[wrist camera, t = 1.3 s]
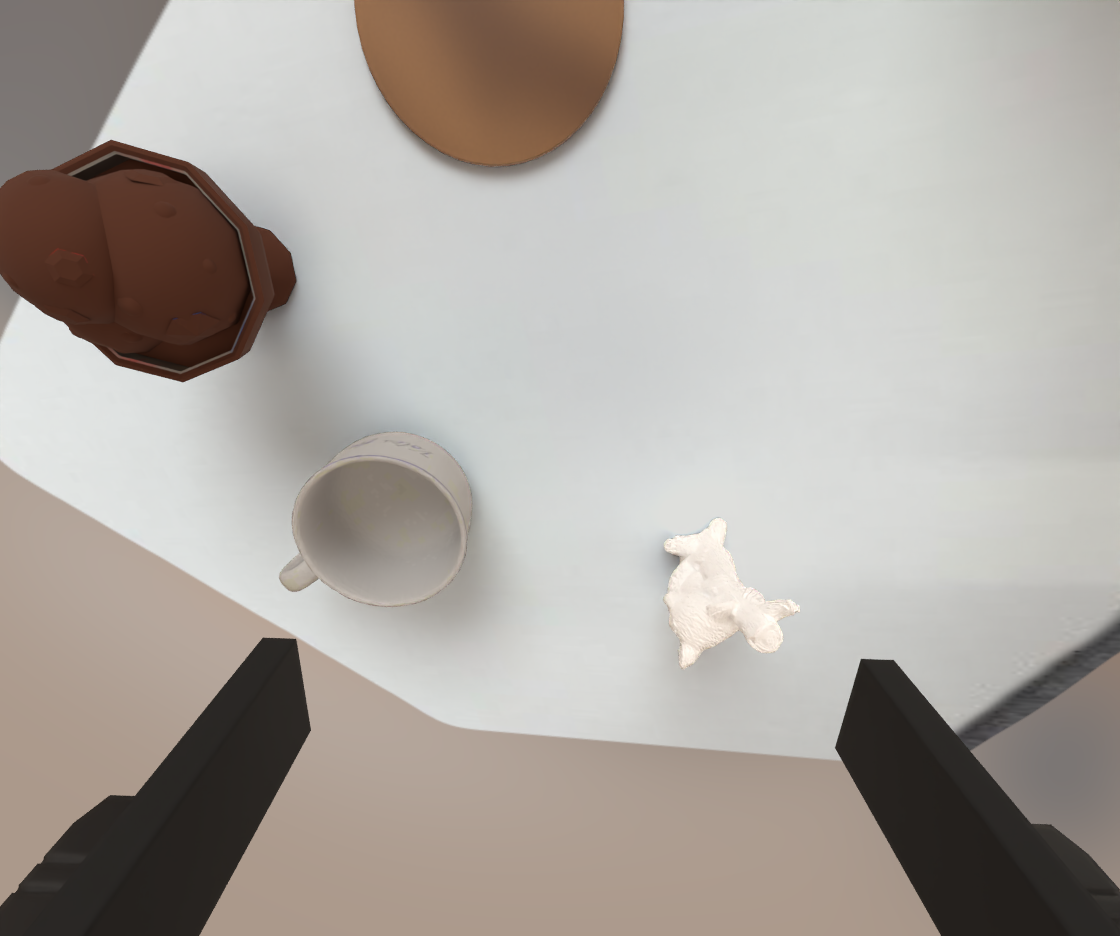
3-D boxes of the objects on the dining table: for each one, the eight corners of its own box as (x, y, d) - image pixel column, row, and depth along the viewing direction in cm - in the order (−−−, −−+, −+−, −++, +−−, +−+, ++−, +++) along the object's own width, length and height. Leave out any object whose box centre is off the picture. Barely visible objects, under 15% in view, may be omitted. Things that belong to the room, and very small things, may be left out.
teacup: (449, 399, 38) (421, 432, 31) (504, 528, 42) (491, 585, 34) (277, 459, 40) (211, 504, 33) (344, 578, 44) (298, 643, 36)
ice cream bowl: (198, 358, 37) (-23, 413, 23) (147, 178, 33) (-155, 114, 19) (349, 351, 37) (218, 402, 23) (315, 168, 33) (133, 96, 19)
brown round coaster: (409, -228, 27) (406, -238, 26) (671, -66, 29) (673, -73, 29) (325, 92, 32) (320, 89, 31) (554, 211, 34) (554, 210, 33)
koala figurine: (717, 491, 41) (775, 578, 29) (765, 552, 42) (838, 655, 31) (628, 554, 43) (651, 657, 31) (678, 609, 44) (716, 726, 33)
